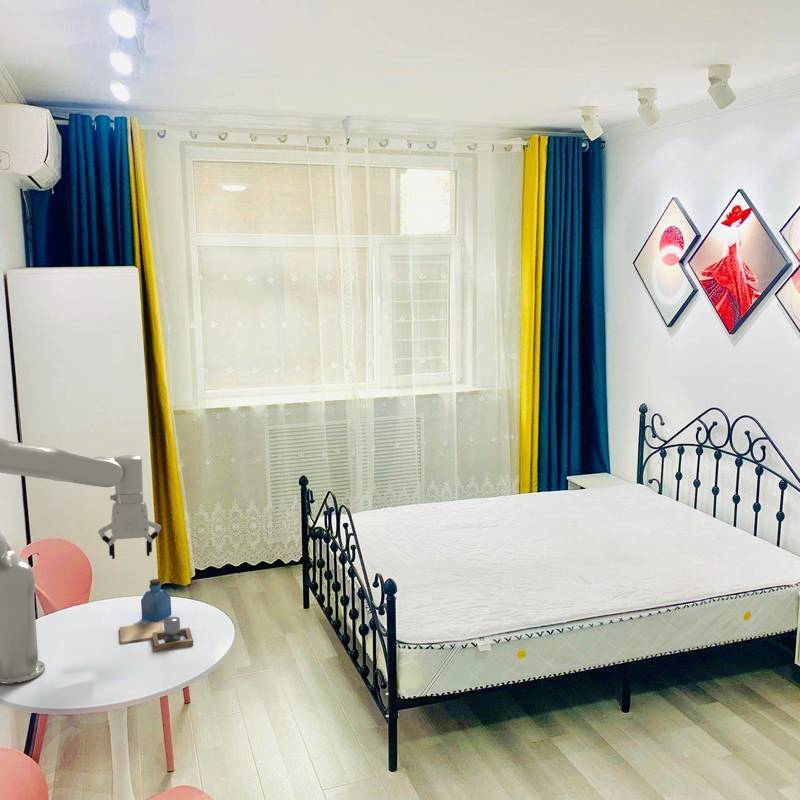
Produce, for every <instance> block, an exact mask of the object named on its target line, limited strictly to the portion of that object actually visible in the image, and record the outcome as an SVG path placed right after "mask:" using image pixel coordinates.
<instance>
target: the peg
mask: <svg viewBox="0 0 800 800" xmlns="http://www.w3.org/2000/svg"><path fill="white" fill-rule="evenodd" d="M180 620H181V619H180V617H178V616H168V617H166V618H164V619H163V631H164V643H167V642H174V641H180V640H181V638H182V637H181V635H180V629H181V621H180Z"/></svg>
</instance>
